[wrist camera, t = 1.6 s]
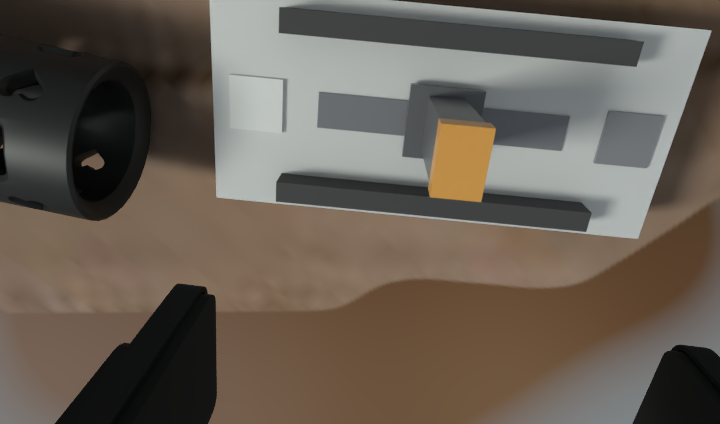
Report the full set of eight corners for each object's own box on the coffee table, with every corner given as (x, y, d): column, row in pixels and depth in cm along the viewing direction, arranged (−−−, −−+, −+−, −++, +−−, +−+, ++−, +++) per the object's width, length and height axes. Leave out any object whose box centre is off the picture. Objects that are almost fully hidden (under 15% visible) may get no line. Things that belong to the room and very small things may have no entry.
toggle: (410, 82, 26) (420, 111, 19) (484, 90, 26) (520, 120, 19) (401, 153, 28) (407, 203, 21) (471, 160, 28) (500, 212, 21)
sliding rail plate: (285, 7, 25) (279, 7, 24) (628, 39, 25) (644, 41, 24) (281, 191, 29) (275, 201, 28) (576, 220, 29) (586, 231, 28)
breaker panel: (231, -15, 29) (207, -18, 25) (669, 27, 28) (714, 30, 24) (235, 176, 33) (215, 198, 29) (609, 212, 33) (639, 240, 29)
